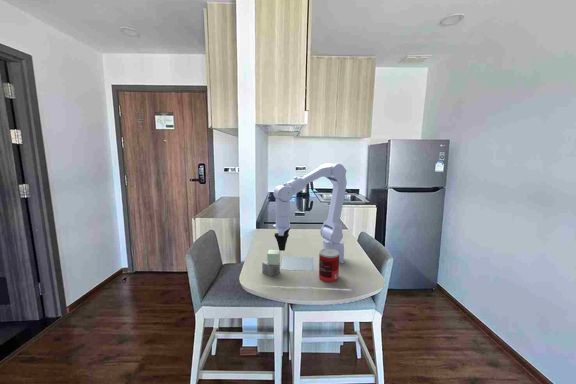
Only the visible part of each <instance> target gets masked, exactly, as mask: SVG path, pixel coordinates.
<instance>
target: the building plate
mask: <svg viewBox="0 0 576 384" xmlns="http://www.w3.org/2000/svg"><path fill="white" fill-rule="evenodd" d="M284 270H285V271H305V272H306V271H309V272H314V257H311V256H291V255H289V256H286V255H285V256H284V255H283V256H282V259H281V261H280V271H284Z"/></svg>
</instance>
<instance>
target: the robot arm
mask: <svg viewBox="0 0 576 384" xmlns="http://www.w3.org/2000/svg"><path fill="white" fill-rule="evenodd" d="M346 174H347V169H346V168H345V166H344V165H343V164H341V163H330V162H325V163H324V164H320V165H319V167H317V168H315V169H314V170H312V171H311V172H309V173H307V174H305V175H303V176H296V175H295V176H293V177H292V179H291V180H289V181H288V182H284V183H283V185H281V184H280V185H277V186H276V187H275V188H274V190H273V192H272V195H273V197H274V198H275V224H272V227H273V228H275V229H276V230H277V232H274V238H275V239H276V242H277V247H278V250H279V251H280V252H281V251H283V252H284V251H285V250H286V245H287V241H288V238H289V236H290V234H289V232H290V230H291V222H290V221H291V219H290V217H291V216H290V215H291V214H290V213H291V209H290V208H291V207H290V206H291V205H290V203H291V201H290V200H291V199H292V197H293V196H295V194H298V193H299V192H301V191H303V190H305V189H306V187H307V185H308V184H310V183H312V182H314V181H316V180H319V179H320V178H326V179H327V180H329V182H331V184H332V185H333V186H332V191H331V198H330V202H329V203H330V204H329V208H328V209H329V210H328V215H327V219H326V220H324V221H323V224H322V227H321V228H320V231H319V234H320V236H321V237H322V249H335V250H337V251H338V252H339V264H344V258H345V254H344V253H345V243H344V242H343V241H342V240H343V237H344V236H343V235H344V233H343V225H342V224H341V222H340V220H341V215H342V212H343V205H344V201H345V195H346V189H347V184H348V182H347V176H346Z"/></svg>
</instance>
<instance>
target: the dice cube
mask: <svg viewBox="0 0 576 384" xmlns="http://www.w3.org/2000/svg"><path fill="white" fill-rule="evenodd" d="M261 266H262V269H261V270H262V273H263V274H265V275H267V276H269V277H273V276H275V275H277V274H279V273H280V272H281V270H280V266H281V261H280V262H279V265H268V263H267V260H264V261H262V265H261Z"/></svg>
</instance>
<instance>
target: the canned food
mask: <svg viewBox="0 0 576 384" xmlns="http://www.w3.org/2000/svg"><path fill="white" fill-rule="evenodd" d="M318 256H319V257H318V279H319V280H321V281H323V282H326V283H334V282H337V281H338V280H339V274H340V273H339V272H340V268H339V267H340V263H339V252H338V251H337V250H335V249H323V248H322V249H320V250H319V254H318Z"/></svg>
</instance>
